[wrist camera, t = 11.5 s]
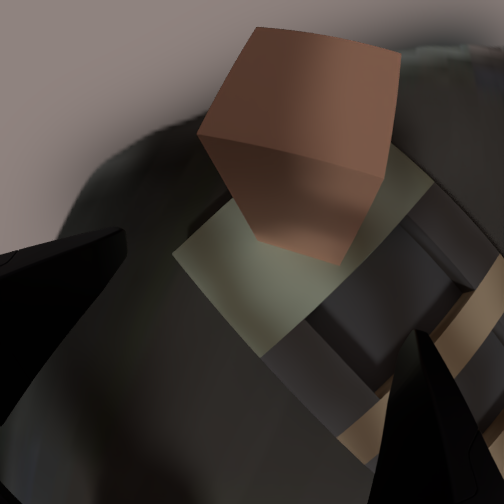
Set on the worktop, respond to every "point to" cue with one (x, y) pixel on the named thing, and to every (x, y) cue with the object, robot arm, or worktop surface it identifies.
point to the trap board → (366, 306)
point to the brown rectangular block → (304, 137)
